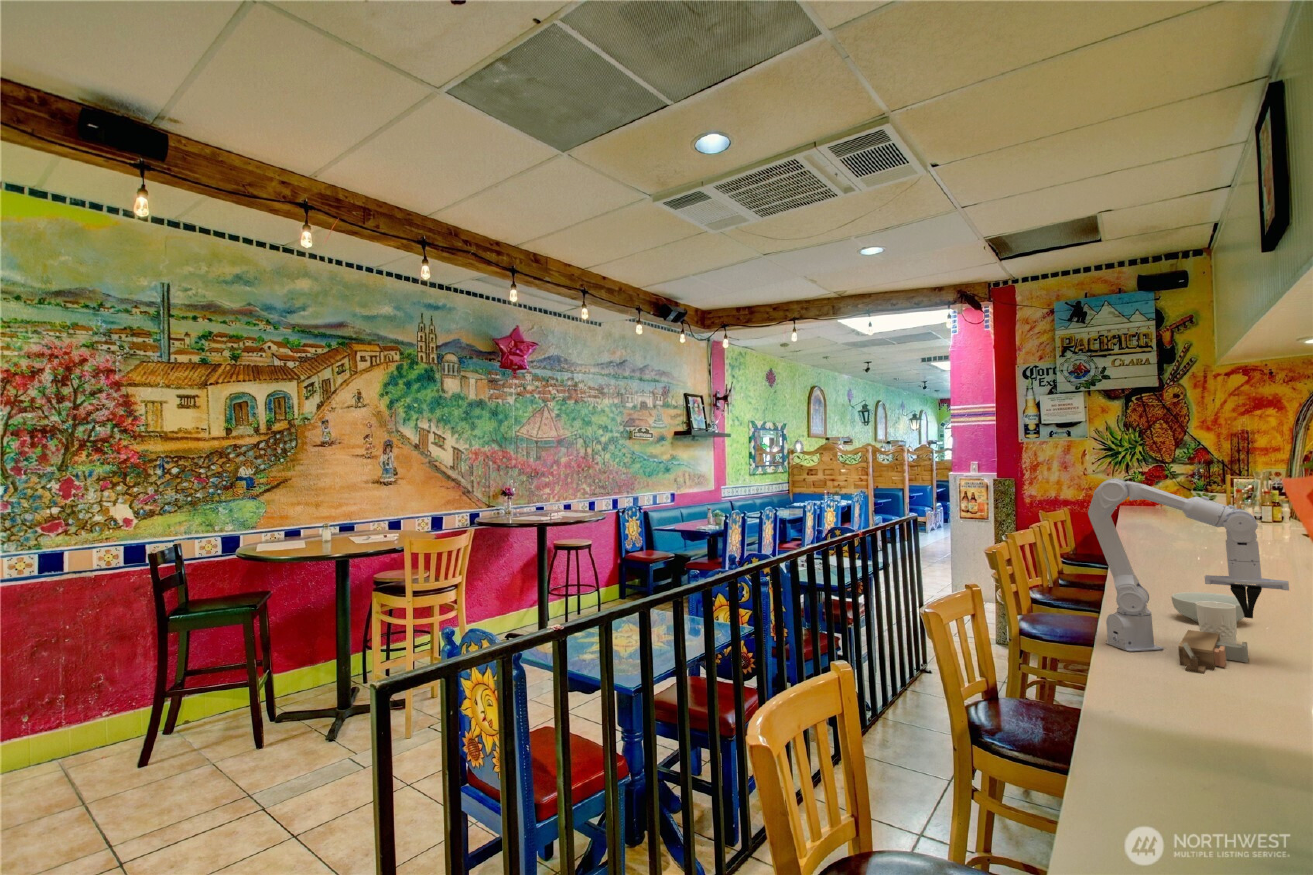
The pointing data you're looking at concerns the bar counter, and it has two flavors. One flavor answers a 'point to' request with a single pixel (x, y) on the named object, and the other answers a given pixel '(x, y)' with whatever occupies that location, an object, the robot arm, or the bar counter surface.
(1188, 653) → the toggle lever
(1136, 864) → the bar counter surface
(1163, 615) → the bar counter surface
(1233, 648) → the plunger grey
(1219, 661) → the flanged terracotta block
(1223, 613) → the white cup
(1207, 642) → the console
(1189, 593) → the cereal bowl
